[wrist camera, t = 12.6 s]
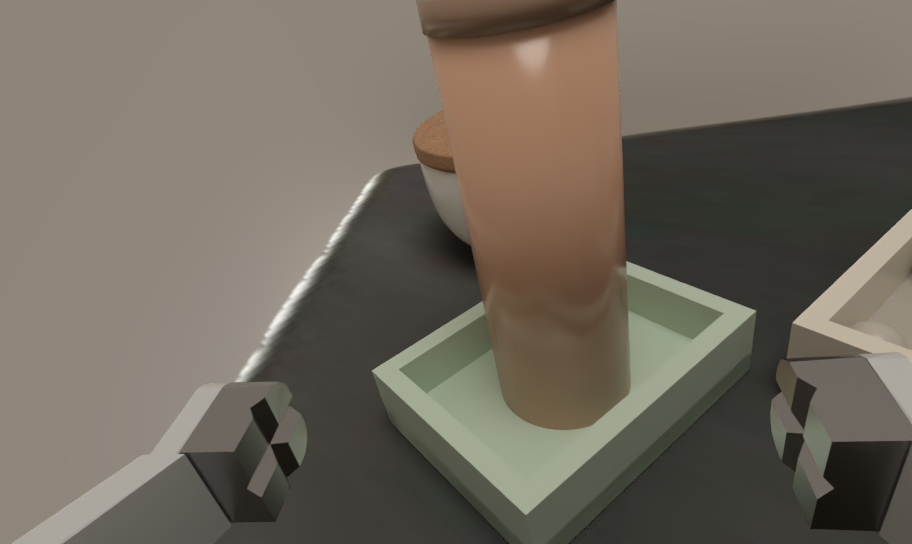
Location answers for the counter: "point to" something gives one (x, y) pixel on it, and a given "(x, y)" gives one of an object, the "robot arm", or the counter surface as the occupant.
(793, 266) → the counter surface
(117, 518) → the robot arm
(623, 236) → the terracotta canister
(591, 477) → the sage tray
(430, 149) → the lidded jar
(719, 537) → the counter surface
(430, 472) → the counter surface
